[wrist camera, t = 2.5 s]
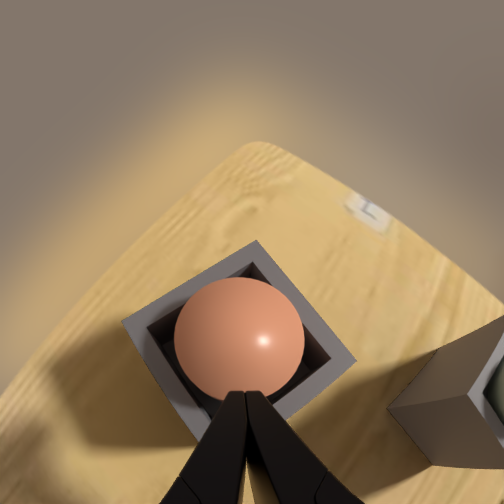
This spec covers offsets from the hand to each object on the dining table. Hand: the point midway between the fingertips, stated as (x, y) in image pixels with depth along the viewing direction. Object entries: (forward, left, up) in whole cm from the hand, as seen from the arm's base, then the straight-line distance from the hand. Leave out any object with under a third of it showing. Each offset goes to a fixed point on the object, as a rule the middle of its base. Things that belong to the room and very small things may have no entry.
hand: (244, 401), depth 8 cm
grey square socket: (+12, -11, -13) cm, 20 cm away
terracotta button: (+1, +2, -5) cm, 5 cm away
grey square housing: (+1, +2, -13) cm, 13 cm away
